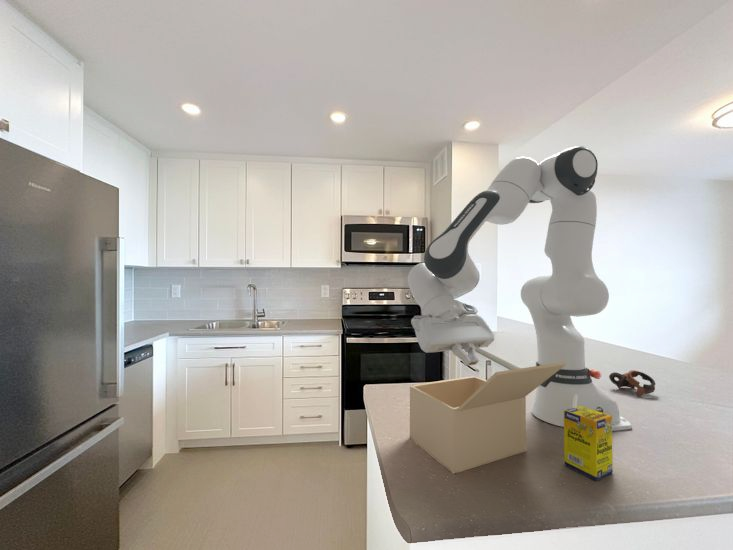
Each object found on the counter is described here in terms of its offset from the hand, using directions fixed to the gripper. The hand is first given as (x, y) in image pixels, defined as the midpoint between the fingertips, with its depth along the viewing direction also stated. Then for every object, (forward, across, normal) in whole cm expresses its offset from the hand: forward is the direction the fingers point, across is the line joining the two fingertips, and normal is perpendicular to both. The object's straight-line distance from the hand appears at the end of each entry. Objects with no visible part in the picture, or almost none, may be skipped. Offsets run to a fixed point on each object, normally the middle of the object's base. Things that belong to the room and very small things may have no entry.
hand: (472, 363), depth 68 cm
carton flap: (+8, 0, -6) cm, 10 cm away
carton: (+12, 0, +15) cm, 19 cm away
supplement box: (+24, +15, +2) cm, 28 cm away
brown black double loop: (+9, +79, +17) cm, 81 cm away
